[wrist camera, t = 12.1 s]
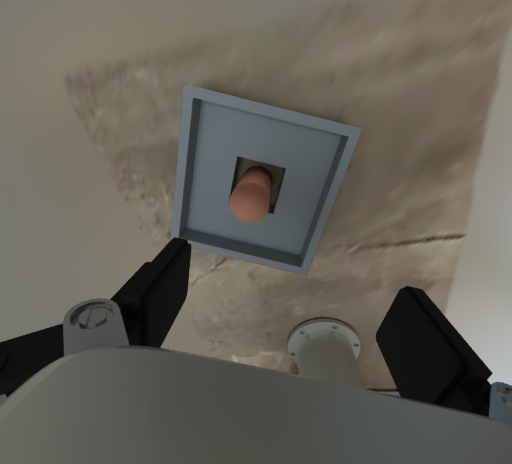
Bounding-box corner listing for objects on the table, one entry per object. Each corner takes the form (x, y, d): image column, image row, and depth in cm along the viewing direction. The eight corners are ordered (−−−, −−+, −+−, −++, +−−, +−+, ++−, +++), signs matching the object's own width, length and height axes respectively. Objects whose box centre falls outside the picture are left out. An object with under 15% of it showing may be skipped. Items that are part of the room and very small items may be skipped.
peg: (268, 198, 35) (264, 226, 26) (240, 191, 34) (226, 217, 25) (275, 169, 33) (273, 189, 24) (245, 162, 33) (233, 179, 24)
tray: (302, 252, 38) (306, 275, 32) (186, 224, 37) (170, 242, 32) (347, 126, 30) (362, 128, 25) (201, 89, 30) (184, 83, 24)
